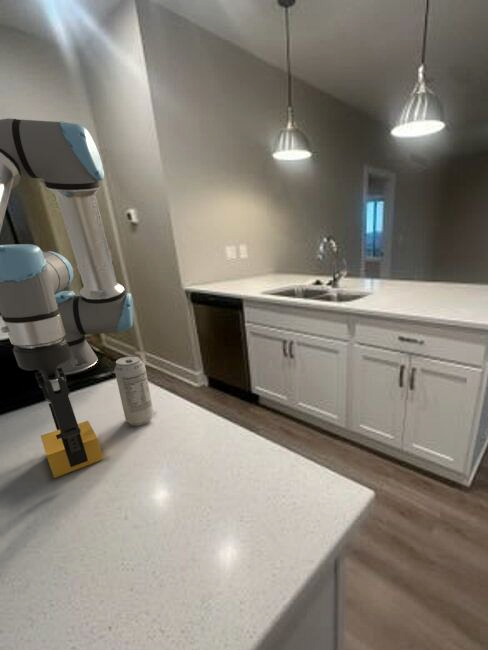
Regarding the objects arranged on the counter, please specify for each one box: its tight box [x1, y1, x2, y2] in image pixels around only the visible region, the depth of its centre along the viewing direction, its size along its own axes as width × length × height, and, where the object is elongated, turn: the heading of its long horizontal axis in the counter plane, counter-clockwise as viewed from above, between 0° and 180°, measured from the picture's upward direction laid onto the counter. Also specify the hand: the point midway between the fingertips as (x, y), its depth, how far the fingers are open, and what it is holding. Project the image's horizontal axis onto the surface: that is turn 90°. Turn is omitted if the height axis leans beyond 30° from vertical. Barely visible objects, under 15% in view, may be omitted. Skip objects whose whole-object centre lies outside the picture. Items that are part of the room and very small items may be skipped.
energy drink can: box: [114, 355, 155, 426], centre depth 77 cm, size 6×6×15 cm
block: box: [40, 420, 104, 479], centre depth 66 cm, size 8×8×5 cm
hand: (71, 445), depth 66 cm, fingers open, 13 cm apart
